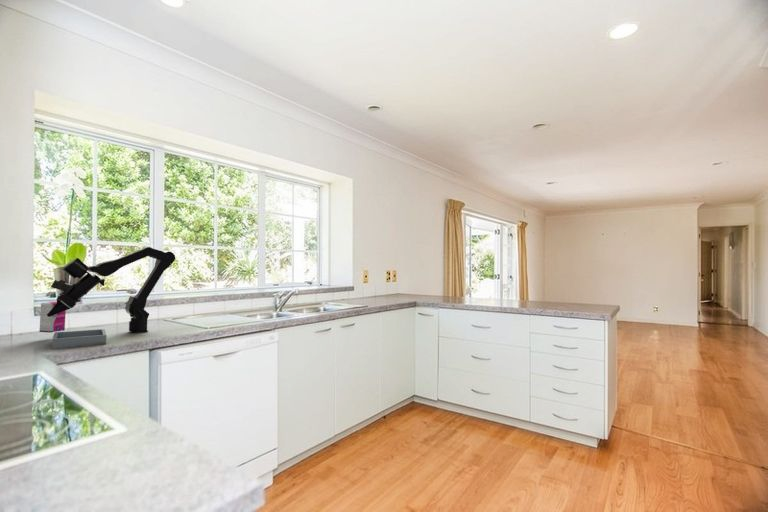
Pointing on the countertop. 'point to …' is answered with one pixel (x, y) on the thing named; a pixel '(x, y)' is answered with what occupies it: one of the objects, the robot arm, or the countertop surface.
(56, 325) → the supplement box
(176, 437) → the countertop surface
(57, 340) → the tray
